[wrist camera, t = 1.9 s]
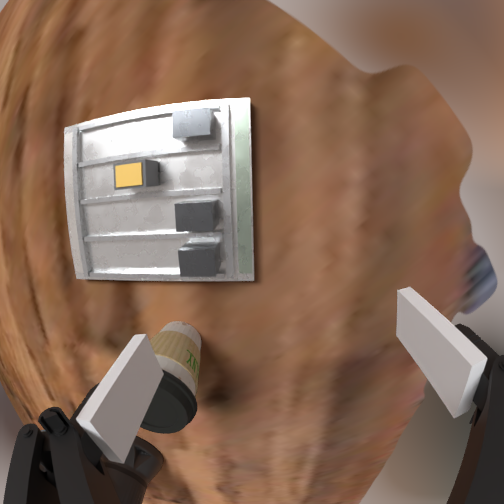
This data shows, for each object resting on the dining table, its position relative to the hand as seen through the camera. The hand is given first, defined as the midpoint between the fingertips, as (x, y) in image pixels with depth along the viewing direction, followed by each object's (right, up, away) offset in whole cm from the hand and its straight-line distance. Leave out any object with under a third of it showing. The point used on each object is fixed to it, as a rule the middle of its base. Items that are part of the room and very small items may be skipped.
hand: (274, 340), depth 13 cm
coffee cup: (-12, -8, +26) cm, 30 cm away
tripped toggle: (-14, +14, +18) cm, 27 cm away
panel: (-14, +12, +21) cm, 28 cm away
